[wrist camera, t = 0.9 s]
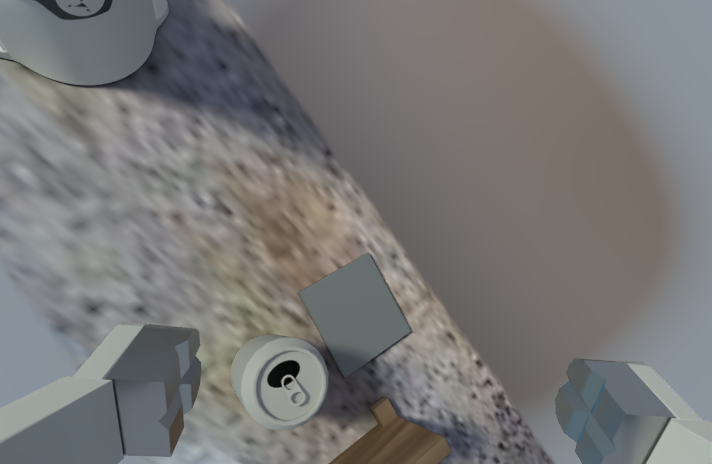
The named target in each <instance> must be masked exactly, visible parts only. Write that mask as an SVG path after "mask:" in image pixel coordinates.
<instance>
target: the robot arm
mask: <svg viewBox="0 0 712 464" xmlns="http://www.w3.org/2000/svg"><path fill="white" fill-rule="evenodd" d="M168 13H169V8H168V3H167V1H166V0H0V57H1V58H5V59H10V60H14V61H16V62H19V63H21V64H23V65H24V66H26V67H28V68H30V69H31V70H33V71H35V72H37V73H39V74H41V75H43V76H45V77H48V78H50V79H53V80H56V81H60V82H64V83H69V84H75V85H100V84H106V83H111V82H114V81H117V80H120V79H122V78H125V77H127V76H128V75H130V74H132V73H133V72H135V71H136V70H137V69H138V68H140V67H141V66H142V65H143V64H144V62H145V61H146V60H147V58H148V57H149V55H150V53H151V51H152V48H153V45H154V40H155V34H156V31H157V28H158V27H159V26H160V25H161V24H162V22H163V21H164V20H165V19H166V17H167V16H168ZM199 347H200V337H199V332H198V330H197V329H192V328H182V327H172V326H162V325H152V324H148V325H147V324H139V323H128V322H123V323H120V324H118V325H117V326H116V327H115V328H114V329H113V330H112V331H111V333H110V334H109V335H108V336H107V337H106V338H105V340H104V341H103V342H102V343H101V344H100V345H99V347H98V348H97V349H96V350H95V351H94V353H93V354H92V355H91V356H90V357H89V358H88V360H87V361H86V362H85V363H84V364H83V365H82V367H81V368H80V369H79V370H78V371H77V373H76V374H75V375H74V376H73V377H63V378H61V379H59V380H57V381H54V382H52V383H50V384H49V385H46V386H44V387H42V388H40V389H38V390H36V391H34V392H32V393H30V394H28V395H26V396H24V397H22V398H20V399H18V400H16V401H14V402H12V403H10V404H8V405H6V406H4V407H1V408H0V464H117V463H119V462H120V461H121V460H122V459H123V458H124V455H128V456H162V457H171V455H172V453H173V451H174V449H175V446H176V444H177V442H178V439H179V437H180V435H181V433H182V430H183V428H184V420H183V415H184V414H185V413H187V412H188V411H189V410H191V409H192V407H193V405H194V402H195V400H196V397H197V394H198V390H199V386H200V379H201V362H200V361H199V359H198V358H197V357H196V356H195V355H196V353H197V351H198V349H199ZM566 374H567V376H568V379H569V382H567V383H566V384H565V385H563V386H562V387H561V388H560V389H559V391H558V394H557V397H556V414H557V418H558V421H559V424H560V425H561V427H562V429H563V431H564V433H565V434H567V435H568V436H569V437H570V438H572V439H573V440H574V441H576V442H577V445H576V450H575V451H576V454H577V455H578V457H579V459H580V460H581V462H582V464H712V422H711V421H704V420H702V419H701V418H700V416H699V415H697V413H696V412H695V411H694V410H693V409H692V408H691V407H690V406H689V405H688V404H687V403H686V402H685V401H684V400H683V399H682V398H681V397H680V396H679V395H678V394H677V393H676V392H675V391H674V390H673V389H672V388H671V387H670V386H669V385H668V384H667V383H666V382H665V381H664V380H663V379H662V378H661V377H660V376H659V375H658V374H657V373H656V372H655V371H654V370H653V369H652V368H651V367H650V366H649V365H647V364H645V363H643V362H630V361H619V362H616V361H602V360H588V359H574V360H573V361H572V362H571V363H570V364H569V366H568V369H567V371H566Z"/></svg>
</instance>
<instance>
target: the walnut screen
mask: <svg viewBox="0 0 712 464" xmlns="http://www.w3.org/2000/svg"><path fill="white" fill-rule="evenodd" d="M369 408H370V410H371V412H372V413H373V415H374V417H375V419H376V421H377V423H378V425H376V426H375V427H374V428H373V429H371V430H370V431H369V432H368V433H366V434H365V435H364V436H363V437H361V438H360V439H359V440H358V441H357V442H355V443H354V444H353V445H352V446H350V447H349V448H348V449H347V450H345V451H344V452H343V453H342V454H340V455H339V456H338V457H337V458H335V459H334V460H333V461H332V462H330V463H329V464H439V463H440V462H441V461H442V460H443V459H444V458H445V457H446V456H447V455H448V454H450V453H451V452H452V451H451V449H450V447H449V445H448V443H447V441H446V440H445V438H444V437H443V436H441V435H438V434H436V433H434V432H432V431H429V430H427V429H425V428H423V427H421V426H418V425H416V424H414V423H412V422H409V421H407V420H405V419H403V418H401V417H398V416H397V414H396V413H395V411H394V409H393V407H392V405H391V403H390V401H389V400H388V398H385V397H381V398H380V399H379V400H377V401H376V402H375V403H373V404H372V405H371V406H369Z"/></svg>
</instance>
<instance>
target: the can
mask: <svg viewBox="0 0 712 464" xmlns="http://www.w3.org/2000/svg"><path fill="white" fill-rule="evenodd" d="M231 382H232V386H233V389H234V392H235V393H236V395H237V396H238V398H239V399H240V401H241V403H242V404H243V406H244V407H245V409H246V410H247V411H248V413H249V414H250V416H251V417H252V418H253V420H254V421H256V422H257V423H259V424H260V425H262V426H263V427H265V428H268V429H273V430H277V431H283V430H291V429H295V428H297V427H299V426H301V425H303V424H305V423H307V422H308V421H309V420H310V419H311V418H312V417H313V416H314V415H315V414H316V413H317V412H318V410H319V409H320V407H321V405H322V404H323V402H324V401H325V397H326V393H327V390H328V370H327V367H326V364H325V361H324V359H323V357H322V356H321V354H320V353H319V352H318V350H317V349H316V348H315V347H313V346H312V345H311V344H309V343H308V342H306V341H303V340H300V339H297V338H293V337H287V336H280V335H274V334H273V335H261V336H258V337H256V338H253V339H251V340H250V341H248V342H247V343H246V344H244V345H243V346H242V347H241V348H240V350H239V351H238V353H237V354H236V355H235V358H234V360H233V363H232V366H231Z"/></svg>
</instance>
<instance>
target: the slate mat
mask: <svg viewBox="0 0 712 464" xmlns="http://www.w3.org/2000/svg"><path fill="white" fill-rule="evenodd" d="M298 294H299V296H300V298H301V300H302V301H303V303H304V305H305V307H306V309H307V311H308V313H309V314H310V316H311V318H312V320H313V322H314V324H315V326H316V327H317V329H318V331H319V333H320V335H321V337H322V339H323V340H324V342H325V344H326V346H327V348H328V350H329V352H330V353H331V355H332V357H333V359H334V361H335V363H336V365H337V366H338V368H339V370H340V372H341V374H342V376H343V377H344V378H346V377H348V376H349V375H350V374H352V373H353V372H355V371H356V370H357V369H359V368H360V367H362V366H363V365H364V364H366V363H367V362H369V361H370V360H371V359H373V358H374V357H376V356H377V355H378V354H380V353H381V352H383V351H384V350H385V349H387V348H388V347H390V346H391V345H392V344H394V343H395V342H397V341H398V340H399V339H401V338H402V337H404V336H405V335H406V334H408V333H409V332H411V330H410V328H409V326H408V324H407V323H406V321H405V319H404V317H403V315H402V313H401V311H400V310H399V308H398V306H397V304H396V302H395V300H394V298H393V297H392V295H391V293H390V291H389V289H388V287H387V285H386V284H385V282H384V280H383V278H382V276H381V274H380V272H379V270H378V269H377V267H376V265H375V263H374V261H373V259H372V257H371V256H370V254H369V253H366V254H365V255H363V256H361V257H359V258H358V259H356V260H354V261H352V262H351V263H349V264H347V265H345V266H344V267H342V268H340V269H338V270H337V271H335V272H333V273H331V274H330V275H328V276H326V277H324V278H323V279H321V280H319V281H317V282H316V283H314V284H312V285H310V286H309V287H307V288H305V289H303V290H302V291H300V292H298Z"/></svg>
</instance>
